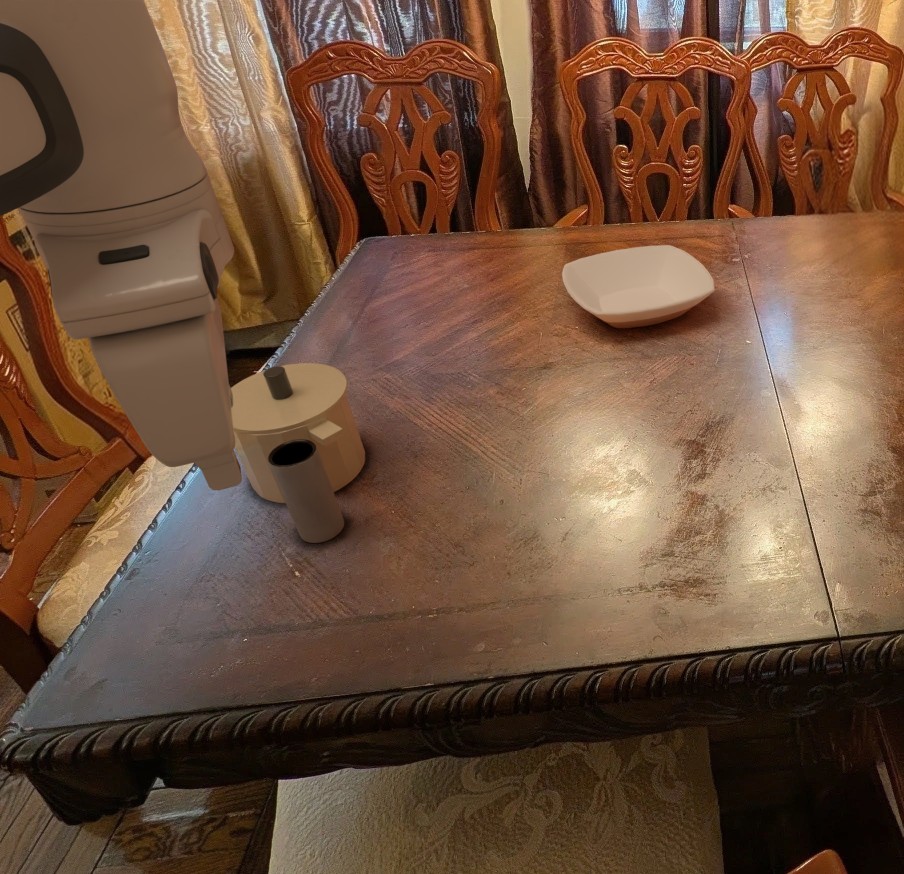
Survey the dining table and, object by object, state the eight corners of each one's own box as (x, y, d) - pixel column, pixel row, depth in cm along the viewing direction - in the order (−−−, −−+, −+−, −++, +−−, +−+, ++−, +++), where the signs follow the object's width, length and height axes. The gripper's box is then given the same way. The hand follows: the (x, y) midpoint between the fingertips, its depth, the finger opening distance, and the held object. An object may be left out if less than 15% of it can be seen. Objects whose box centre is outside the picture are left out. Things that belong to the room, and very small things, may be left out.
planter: (353, 520, 86) (326, 444, 80) (324, 548, 83) (292, 470, 77) (321, 510, 87) (291, 434, 81) (290, 537, 84) (256, 460, 78)
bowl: (731, 324, 119) (731, 292, 116) (591, 355, 113) (587, 321, 110) (678, 268, 135) (677, 238, 132) (553, 292, 129) (549, 261, 126)
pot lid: (262, 454, 81) (248, 421, 79) (196, 411, 88) (181, 379, 85) (373, 394, 90) (364, 362, 87) (305, 359, 96) (295, 329, 94)
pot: (305, 528, 85) (276, 458, 80) (220, 467, 94) (188, 400, 88) (401, 469, 93) (381, 401, 87) (314, 418, 102) (290, 353, 96)
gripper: (86, 192, 50) (170, 380, 58) (49, 325, 36) (168, 552, 44) (197, 176, 53) (263, 359, 61) (206, 295, 38) (292, 516, 46)
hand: (224, 441), depth 52 cm, fingers open, 8 cm apart
